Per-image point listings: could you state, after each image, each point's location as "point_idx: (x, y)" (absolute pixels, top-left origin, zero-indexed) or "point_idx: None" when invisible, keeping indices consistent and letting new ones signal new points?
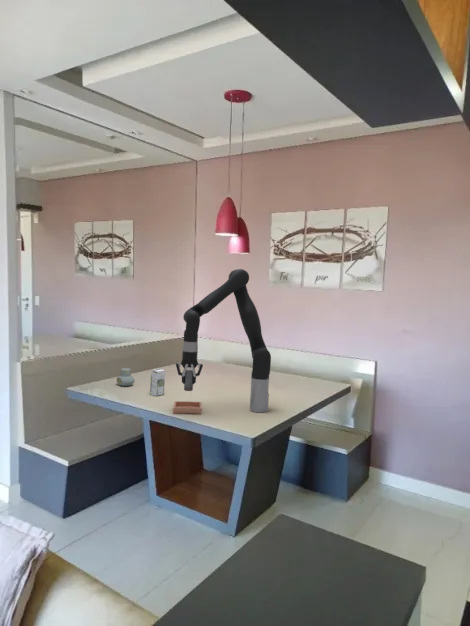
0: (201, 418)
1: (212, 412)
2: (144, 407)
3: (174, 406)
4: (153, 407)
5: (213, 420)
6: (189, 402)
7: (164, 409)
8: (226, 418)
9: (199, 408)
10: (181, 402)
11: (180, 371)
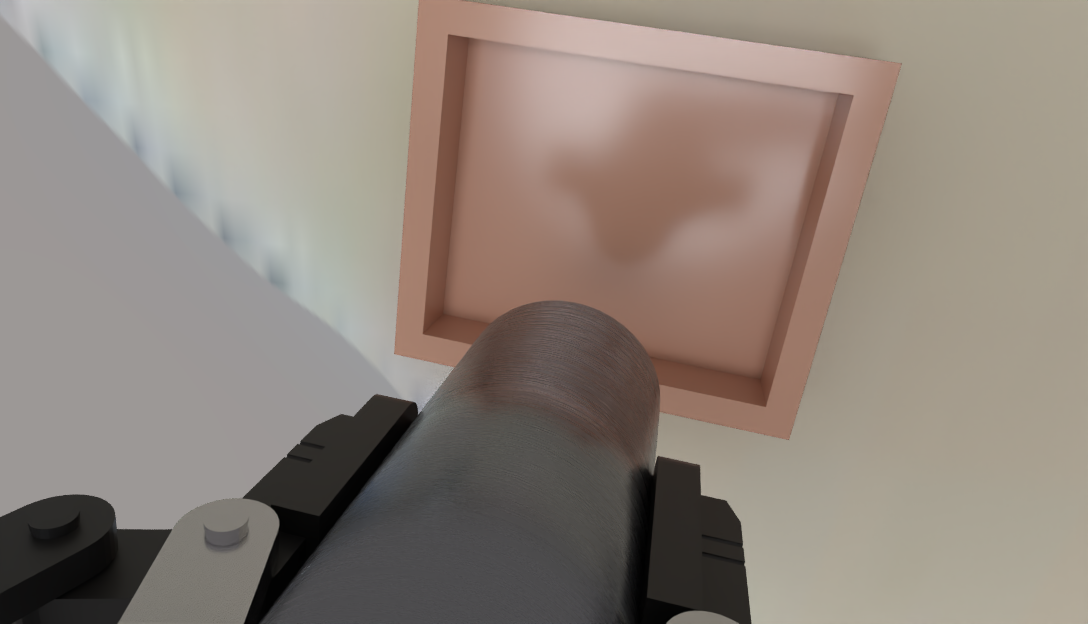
0: (742, 534)
1: (977, 332)
2: (67, 11)
3: (411, 290)
4: (173, 17)
5: (870, 621)
6: (669, 66)
7: (318, 125)
8: (1076, 592)
9: (758, 429)
10: (533, 45)
11: (24, 593)
